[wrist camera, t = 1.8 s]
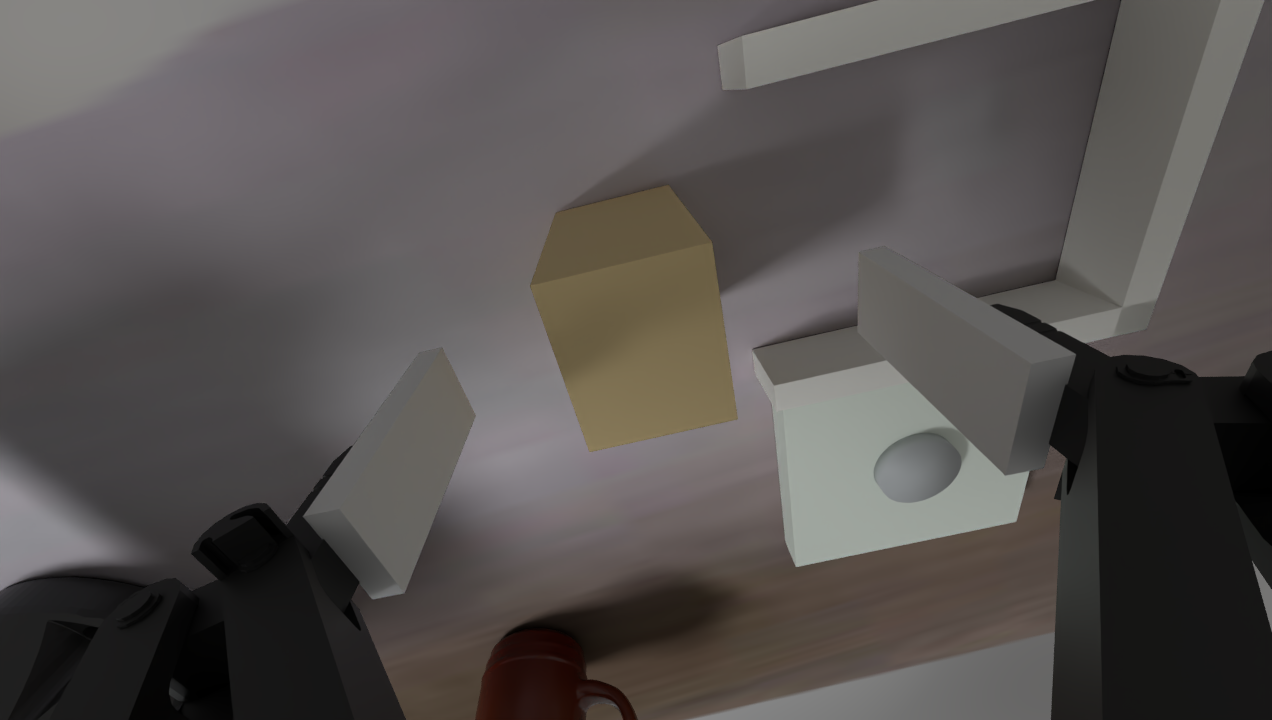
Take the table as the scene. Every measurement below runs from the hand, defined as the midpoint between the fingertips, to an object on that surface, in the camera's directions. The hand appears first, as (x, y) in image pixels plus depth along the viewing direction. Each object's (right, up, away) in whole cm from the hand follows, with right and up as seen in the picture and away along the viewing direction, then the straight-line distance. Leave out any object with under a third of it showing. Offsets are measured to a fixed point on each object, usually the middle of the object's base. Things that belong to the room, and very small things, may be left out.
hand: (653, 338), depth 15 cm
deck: (+14, +1, +10) cm, 17 cm away
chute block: (-1, +4, +7) cm, 8 cm away
